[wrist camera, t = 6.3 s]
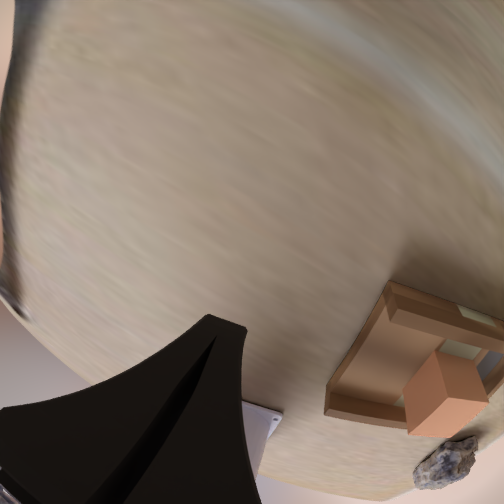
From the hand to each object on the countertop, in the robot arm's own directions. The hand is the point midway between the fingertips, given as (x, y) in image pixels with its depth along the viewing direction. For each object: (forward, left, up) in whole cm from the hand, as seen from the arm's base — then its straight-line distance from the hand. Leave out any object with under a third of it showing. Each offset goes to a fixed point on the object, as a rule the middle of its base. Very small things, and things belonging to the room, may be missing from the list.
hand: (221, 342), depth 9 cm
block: (-6, -16, -8) cm, 19 cm away
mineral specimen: (-21, -30, -10) cm, 38 cm away
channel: (-6, -15, -10) cm, 19 cm away
